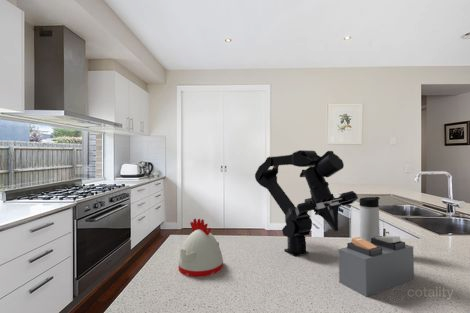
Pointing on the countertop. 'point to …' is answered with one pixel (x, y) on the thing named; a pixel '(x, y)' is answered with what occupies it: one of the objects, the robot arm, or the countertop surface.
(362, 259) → the switch box
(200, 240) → the kitchen timer
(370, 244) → the orange rocker
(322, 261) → the countertop surface
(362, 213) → the travel mug
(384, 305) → the countertop surface
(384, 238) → the white rocker
